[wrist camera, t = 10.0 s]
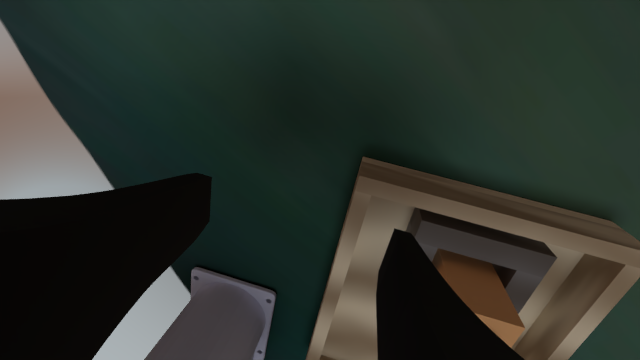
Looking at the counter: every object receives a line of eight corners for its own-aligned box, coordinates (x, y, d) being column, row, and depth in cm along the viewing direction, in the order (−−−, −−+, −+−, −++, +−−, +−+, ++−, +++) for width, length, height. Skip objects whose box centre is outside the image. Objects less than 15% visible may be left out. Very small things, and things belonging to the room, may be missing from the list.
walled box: (476, 402, 27) (489, 449, 24) (308, 347, 28) (299, 384, 25) (611, 221, 18) (658, 255, 15) (362, 156, 20) (359, 175, 17)
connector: (466, 290, 21) (502, 394, 15) (419, 276, 22) (435, 372, 15) (486, 253, 20) (536, 350, 13) (436, 239, 20) (461, 327, 14)
